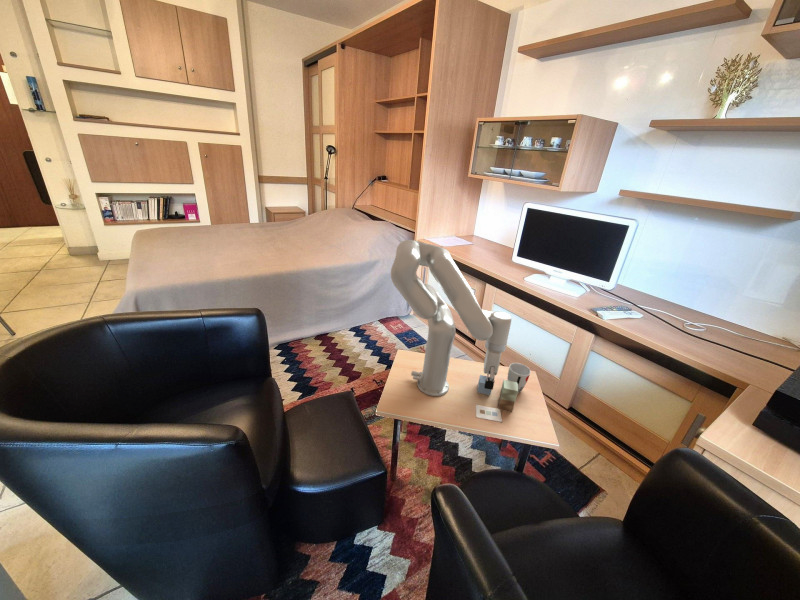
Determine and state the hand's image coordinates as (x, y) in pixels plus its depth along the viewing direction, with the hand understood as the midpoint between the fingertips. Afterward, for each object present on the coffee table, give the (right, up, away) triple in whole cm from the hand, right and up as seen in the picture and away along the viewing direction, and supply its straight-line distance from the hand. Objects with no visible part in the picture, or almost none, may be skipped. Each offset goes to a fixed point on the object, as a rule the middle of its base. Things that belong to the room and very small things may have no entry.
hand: (488, 380), depth 130 cm
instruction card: (-3, -9, -10) cm, 14 cm away
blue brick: (-1, -4, +2) cm, 5 cm away
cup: (+11, -4, +4) cm, 13 cm away
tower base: (+5, -8, -6) cm, 11 cm away
